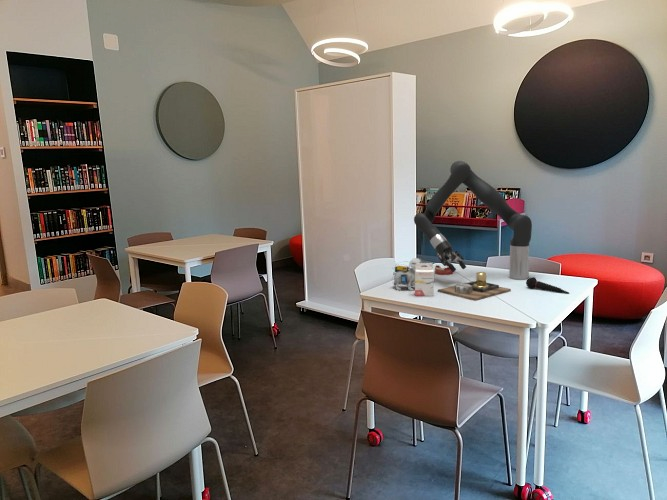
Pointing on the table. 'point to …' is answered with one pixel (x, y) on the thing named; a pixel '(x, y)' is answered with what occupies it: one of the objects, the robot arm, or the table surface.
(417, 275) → the ink cartridge box
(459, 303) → the table surface
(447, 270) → the anatomical model
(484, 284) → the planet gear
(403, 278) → the robotic toy
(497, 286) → the carrier plate
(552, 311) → the table surface
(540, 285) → the microphone
